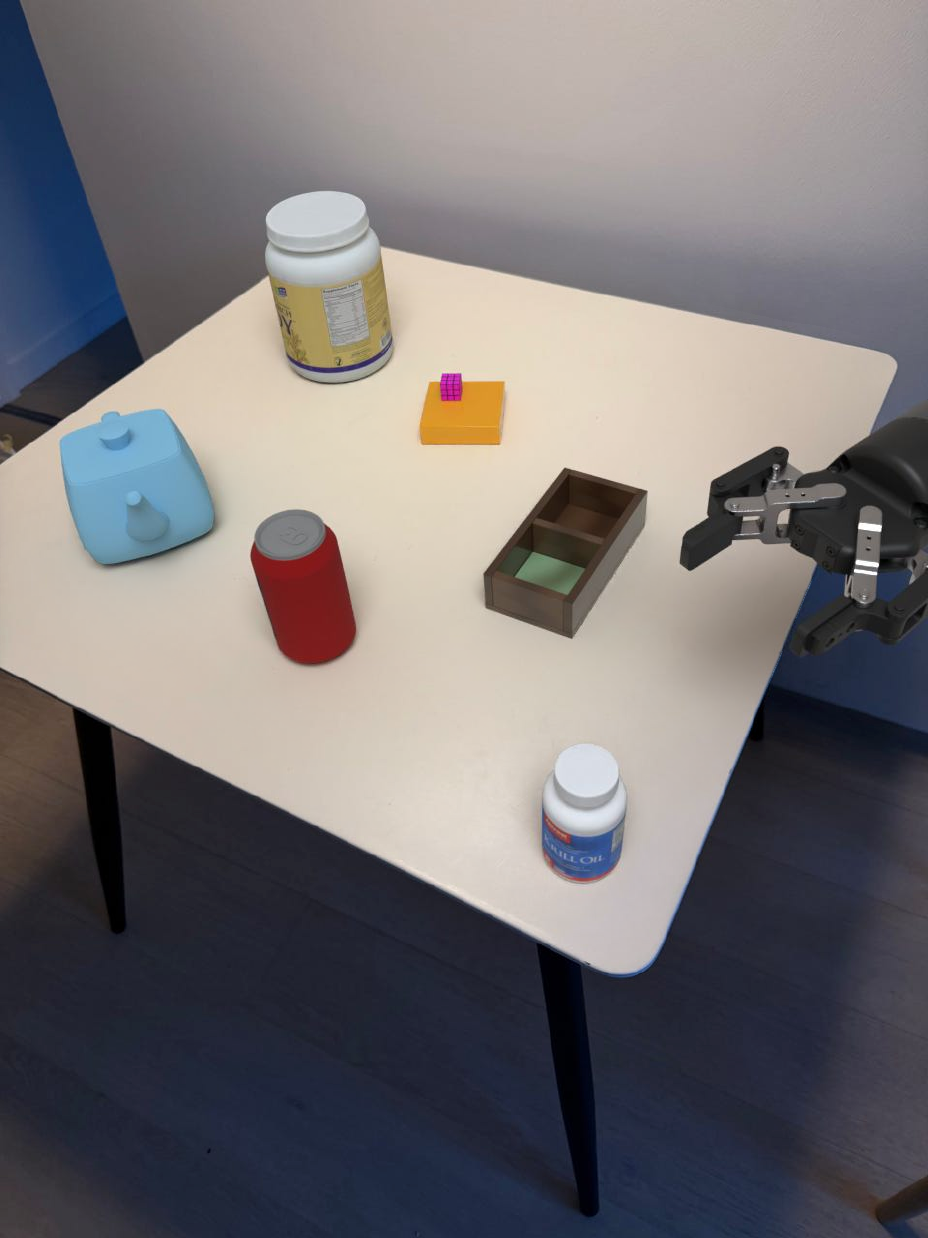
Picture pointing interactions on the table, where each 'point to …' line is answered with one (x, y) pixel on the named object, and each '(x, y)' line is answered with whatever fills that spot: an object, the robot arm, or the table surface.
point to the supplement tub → (328, 286)
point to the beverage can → (303, 586)
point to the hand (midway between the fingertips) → (738, 599)
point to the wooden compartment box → (565, 551)
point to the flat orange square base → (463, 411)
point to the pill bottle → (583, 814)
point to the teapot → (134, 486)
